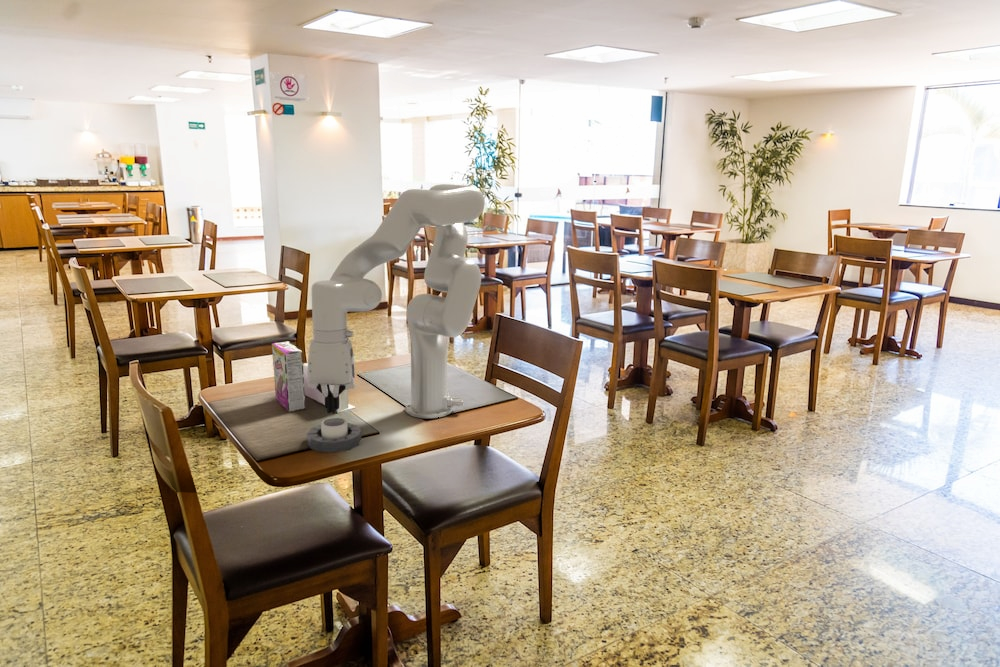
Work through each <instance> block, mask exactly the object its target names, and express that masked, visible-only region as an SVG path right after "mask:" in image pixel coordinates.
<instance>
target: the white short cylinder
mask: <svg viewBox="0 0 1000 667" xmlns="http://www.w3.org/2000/svg"><path fill="white" fill-rule="evenodd" d="M347 423H348V420H347V419H345V418H343V417H329V418H326V419H324V420H322V421H321V422H320V425H321V435H322V438H325V439H336V438H342V437H345V436H347V435H348V428H347Z"/></svg>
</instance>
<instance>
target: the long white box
mask: <svg viewBox="0 0 1000 667" xmlns="http://www.w3.org/2000/svg"><path fill="white" fill-rule="evenodd" d="M303 374H304V390H305V396H307V397H309V398H311V399H312V400H314V401H316V402H318V403H320V404H322V405H324V406H325V397H324V396H323V394H322V393H321V392H320V391H319V390H318V389H315V388H311V387H308V382H309V380H308V362H303ZM330 389H331V392H332V394H333V390H334V385H330ZM356 409H357V408H356V406H354V405H352V404H350V403H349V389H348V390H344V391H343V392H342V393H341V394H340V395H339V409H337V411H336V413H337V414H340V413H339V412H341V413H343V412H342V411H344V412H347V411H348V412H349V411H351V410H356Z"/></svg>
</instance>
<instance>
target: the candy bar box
mask: <svg viewBox="0 0 1000 667" xmlns="http://www.w3.org/2000/svg"><path fill="white" fill-rule="evenodd" d="M271 351H272V352H271V353H272V362H273V363H272V364H273V375H274V376H273V377H274V389H275V390H274V391H275V400H276V402H278V403H279V404H280V405H281V406H282V407H283V408H284V407H285V408H286V409H287V410H286V409H285V408H284V409H285V410H286V411H287V412H289V411H292V412H294V411H293V410H297V411H299V410H298V409H301V410H305V409H306V395H305V390H304V374H303V363H304V361H303V351H302V350H301V349H300V348H298V346H295V345H294V344H293V343H292V342H290V341H288V340H287V341H280V342H273V343H271ZM304 408H305V409H304Z"/></svg>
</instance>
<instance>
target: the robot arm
mask: <svg viewBox="0 0 1000 667" xmlns="http://www.w3.org/2000/svg"><path fill="white" fill-rule="evenodd" d="M485 204H486V203H485V197H484V194H483V192H482V191H481V190H480V189H478V188H477V187H475V186H472V185H467V184H466V185H462V184H449V183H445V184H442V183H441V184H435V185H433V186H431V187H430V188H429V189H421V188H420V189H419V188H417V189H416V188H414V189H413V188H411V189H410V188H409V189H406V190H404V191H403V192H402V193H401V194H399V196H398V198H397V199H396V201H395V202H394V203H393V205H392V206H391V208H390V210H389V212H388V213H387V214H386V216H385V217H384V218H383V220H382V222H381V223H380V224H379V227H378V228H377V229H376V231H375V232H374V234H373V235H371V236H370V237H368V238H366V240H364V241H363V242H362V243H360V244H359V245H358V246H356V247H355V248H353V249H352V250H351V251H350V252H349V253H348V254H346V255H345V256H344V258H343V259H342V260H341V261H340V263H339V264H338V265H337V267H336V269H335V270H334V272H333V273H332V275H331V277H330V279H327V280H319V281H316V282H314V283H313V284H312V286H311V311H312V312H311V313H312V337H313V338H312V339H311V340H310V343H309V349H308V356H307V363H308V380H309V382H308V387H311V388H315V389H318V390H319V391H320V392H321V393H322V394H323V396H324V397H325V405H324V409H325V410H327V411H326V413H327V414H335V413H337V409H339V395H340V394H341V393H342V392H343V391H344V390H348V391H349V390H351V389H354V388H355V386H356V382H355V376H356V365H355V356H354V348H353V344H352V340H351V339H349V338H353V337H354V330H349V328H348V319H347V318H348V312H362V313H363V312H365V313H366V312H370V311H372V310H374V309H375V308H377V307H378V306H379V304H380V303H381V301H382V298H383V297H382V296H383V294H382V290H381V287H380V285H379V284H377V283H376V282H375V281H373V280H370V279H368V278H365V276H366V275H367V274H368V273H369V272H371V271H372V270H373V269H374V268H376V267H378V266H380V265H383V264H386V263H389V262H392V261H394V260H397V259H399V258H402V257H403V256H404V255H405V254H406V253H407V251H408V249H409V248H410V246H411V245H412V243H413V242H414V239H415V238H416V237H417V235H418V234H419V232H420V230H421V229H422V227H423V226H424V227H425V226H428V227H434V228H435V235H434V236H435V237H434V240H433V244H432V248H431V250H430V254H429V257H428V260H427V263H426V266H425V270H424V276H423V280H424V283H425V285H426V286H427V287H429V288H430V289H432V290H434V291H437V292H442V293H446V296H445V297H444V296H440V295H434V294H431V293H421V294H420V293H419V294H418V295H415V296H414V297H413V298H411V299H410V301H409V302H408V305H407V308H406V322H407V326H408V329H409V336H410V337H409V339H410V386H411V388H410V391H411V392H410V395H411V396H410V397H411V398H410V399H411V401H410V402H408V403H407V404H406V405H405V412H406V413H407V415H409V416H411V417H414V418H419V419H438V417H439V418H443V417H447V416H448V415H450V414H451V413H453V411H452V410H454V409H453V408H454V407H464V404H465V403H464V398H463V399H462V398H461V397H460V396H451V395H450V391H449V390H448V345H447V339H446V338H457V337H460V336H461V335H462V334H463V333H464V332H465V330H466V329H467V328H468V325H469V323H470V320H471V318H472V314H473V312H474V308H475V305H476V301H477V299H478V295H479V292H480V290H481V289H480V288H481V284H482V273H481V269H480V266H479V265H478V264H477V263H476V262H475V261H474V260H472V259H469V258H467V257H465V253H466V250H467V245H468V241H469V240H468V238H469V237H468V231H467V227H466V225H465V223H466V222H472V221H474V220H476V219H478V217H480V216H481V215H482V213H483V211H484V209H485ZM347 338H348V339H347ZM330 385H334V390H333V394H332V392H331V389H330Z"/></svg>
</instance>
